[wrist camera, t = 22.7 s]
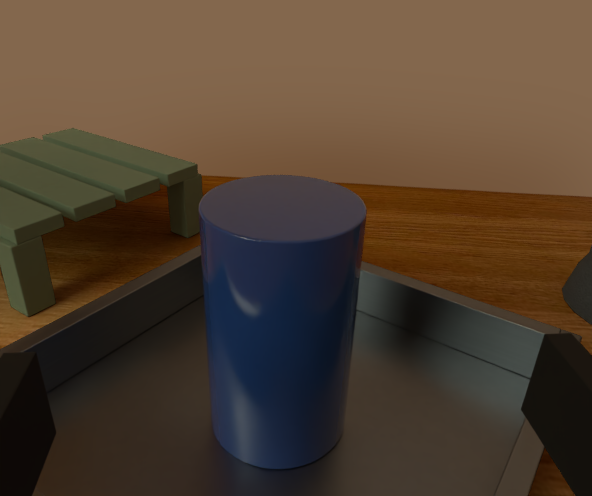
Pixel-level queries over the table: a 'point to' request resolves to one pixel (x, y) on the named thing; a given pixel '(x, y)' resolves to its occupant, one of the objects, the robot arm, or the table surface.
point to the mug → (580, 288)
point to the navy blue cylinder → (280, 314)
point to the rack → (77, 198)
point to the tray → (359, 412)
